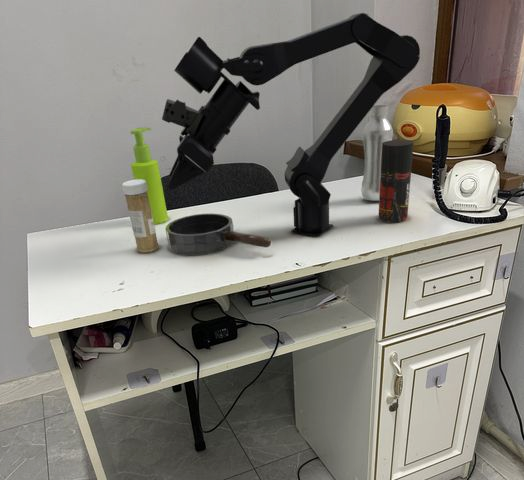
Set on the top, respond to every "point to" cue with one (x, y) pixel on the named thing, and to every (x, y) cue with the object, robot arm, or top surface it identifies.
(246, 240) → the pan handle
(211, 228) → the pan
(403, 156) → the deodorant
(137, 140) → the soap dispenser
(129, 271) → the top surface
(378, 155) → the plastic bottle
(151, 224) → the sprinkles bottle
